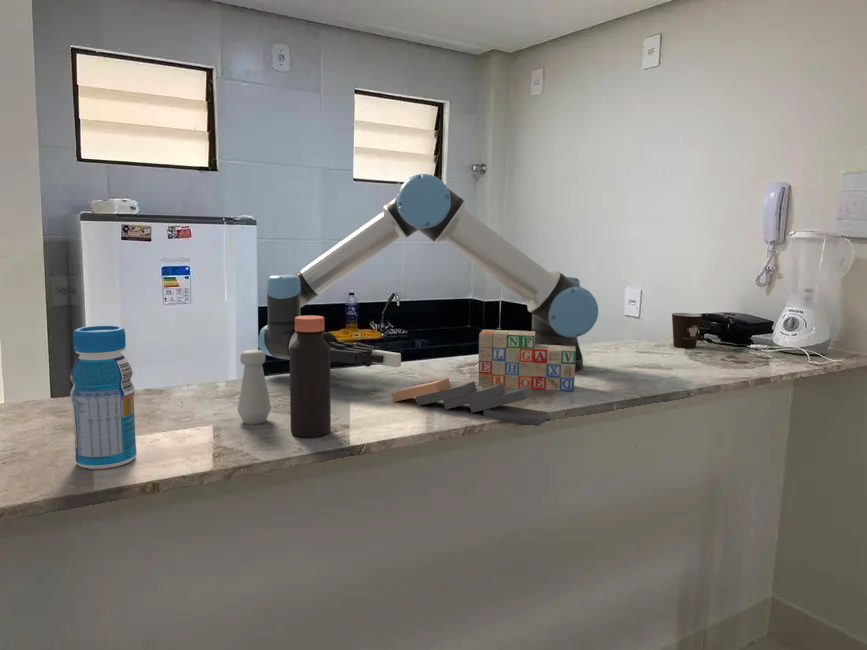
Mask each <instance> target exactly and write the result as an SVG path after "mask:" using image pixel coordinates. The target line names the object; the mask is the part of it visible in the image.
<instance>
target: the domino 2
mask: <svg viewBox="0 0 867 650" xmlns="http://www.w3.org/2000/svg"><path fill="white" fill-rule="evenodd" d="M476 389H477V390H475V391H473V392H471V393H469V394H466V395H464V396H459V397H455V398H451V399H446V400H442V402H443V403H442V404H443V407H444V409H445V410H448V409H453V408H456V407H457V408H458V407H461V406H465V405H469V403H473V402H477V401H481V400H485V399H489V398H493V397H497V396H499V395H501V394H502V393H504V392H506V390H505V388H504V386H503V383H500V384H496V385H492V386H484V387H481V388H476Z"/></svg>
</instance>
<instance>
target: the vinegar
mask: <svg viewBox="0 0 867 650" xmlns="http://www.w3.org/2000/svg"><path fill="white" fill-rule="evenodd" d="M295 331H296V332H295V333H296V334H297V339H296V340H295V341H294V342H293V344H292V345H291V346H290V349H289V350H290V360H289V394H290V395H289V397H290V398H289V401H290V403H289V404H290V405H289V407H290V408H289V409H290V411H289V412H290V433H291V434H292V435H293V436H295V437H297V438H298V437H299V438H305V439H307V438H308V439H311V438H312V439H313V438H320V437H323V436H326V435H328V434H329V433H330V432H331V428H332V426H331V422H332V421H331V419H332V418H331V413H332V412H331V364H330V346H329V344H328V343H327V342H326V341H325V340H324V339H323V333H324V332H325V317H324V316H321V315H311V314H308V315H300V316H297V317H295Z"/></svg>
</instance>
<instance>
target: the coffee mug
mask: <svg viewBox="0 0 867 650" xmlns="http://www.w3.org/2000/svg"><path fill="white" fill-rule="evenodd" d="M671 319H672V339H673V340H672V342H673V347H674V348H677V349H684V350H685V349H688V350H690V349H691V350H692V349H696V347H697V342H698V338H699V336H701V335H702V334H703V333H704V332H705V331H706V330H707V329H708V328H709V325H710V324H709V322H710V321H709V320H708V319H707V318H705V317H703V315H702V314H699V313H692V312H690V313H689V312H673V313H671ZM702 321H705V323H706V326H705V327H704V329H703V330H702V331H700V327H701V323H702Z"/></svg>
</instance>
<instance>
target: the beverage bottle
mask: <svg viewBox="0 0 867 650" xmlns="http://www.w3.org/2000/svg"><path fill="white" fill-rule="evenodd" d="M72 338H73V349H74V352H75V353H76V354H79V356H78V357H77V359H76V360H75V362H74V364H73V366H72V368H71V370H70V374H69V375H70V376H69V378H70V381H71V382H72V388H71V389H70V392H69V393H70V394H69V395H70V401H71V406H72V407H71V408H72V420H73V421H72V422H73V435H74V448H75V462H76V464H77V466H78V467H80V468H83V469H86V468H87V469H88V470H106V469H113V468H117V467H121V466H124V465H126V464H130V462H132V461H133V460H134V459H135V458H136V456H137V454H138V453H137V445H136V444H137V443H136V441H137V439H136V419H135V418H136V417H135V401H134V399H135V397H134V396H135V392H136V391H135V386H134V383H132V376H133V375H134V374H133V369H132V366H131V364H130V362H129V360H128V359H127V358H126V357H125V355H123V353H122V352H124V351H125V349H126V345H127V344H126V331H125V328H124V327H123V326H118V325H93V326H85V327H84V326H83V327H79V328H76V329H74V330H73V336H72Z"/></svg>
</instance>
